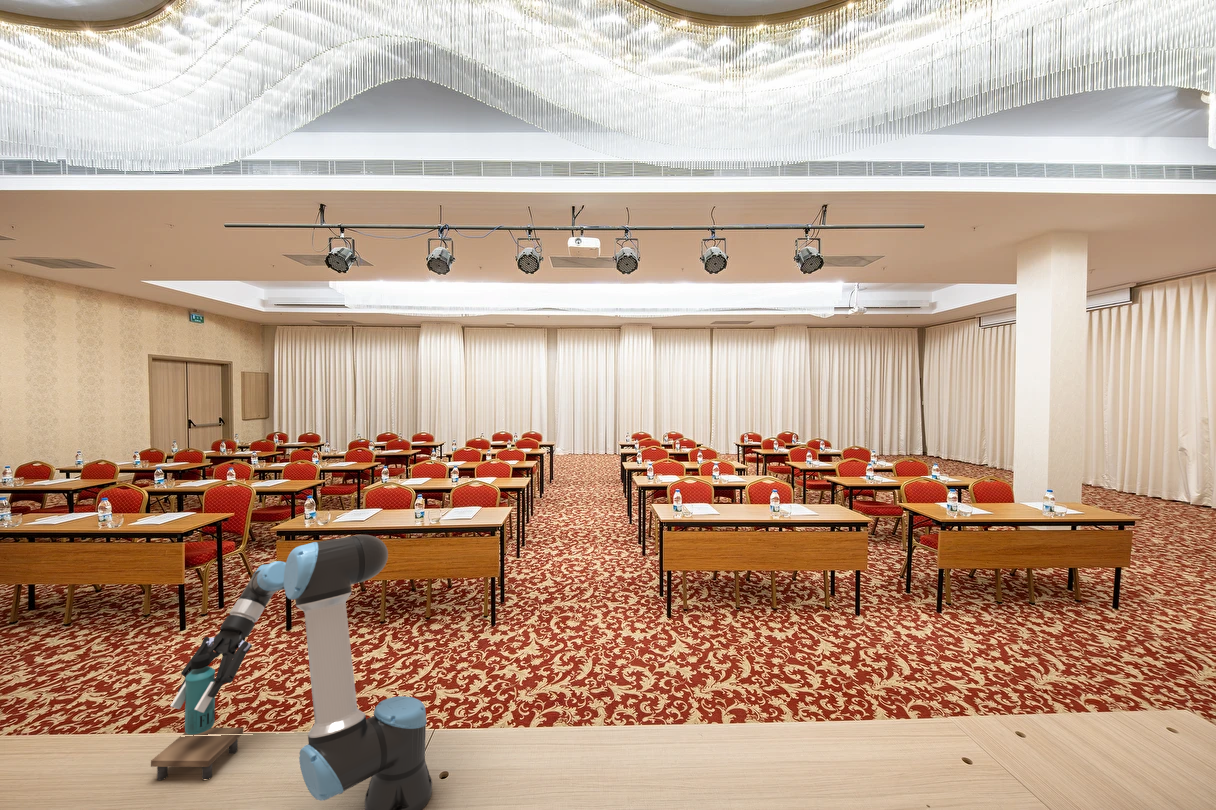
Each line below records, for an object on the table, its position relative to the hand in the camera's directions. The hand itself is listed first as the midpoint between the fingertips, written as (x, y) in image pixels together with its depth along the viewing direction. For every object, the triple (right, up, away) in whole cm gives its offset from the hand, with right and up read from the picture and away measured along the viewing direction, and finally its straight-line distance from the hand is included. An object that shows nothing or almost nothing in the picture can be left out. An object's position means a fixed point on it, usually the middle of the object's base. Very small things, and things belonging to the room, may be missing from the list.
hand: (186, 709), depth 133 cm
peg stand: (0, -17, +4) cm, 17 cm away
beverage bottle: (0, -9, +4) cm, 9 cm away
